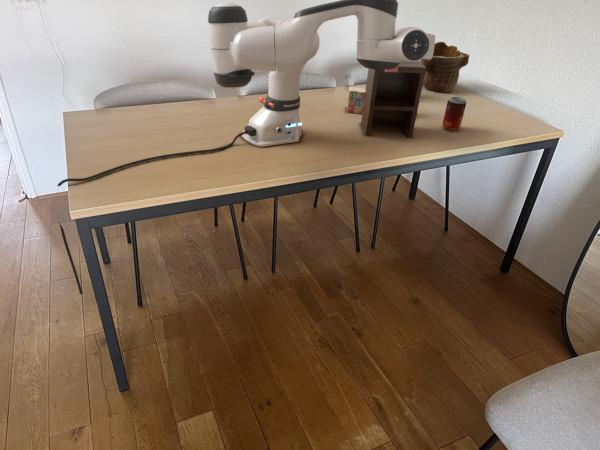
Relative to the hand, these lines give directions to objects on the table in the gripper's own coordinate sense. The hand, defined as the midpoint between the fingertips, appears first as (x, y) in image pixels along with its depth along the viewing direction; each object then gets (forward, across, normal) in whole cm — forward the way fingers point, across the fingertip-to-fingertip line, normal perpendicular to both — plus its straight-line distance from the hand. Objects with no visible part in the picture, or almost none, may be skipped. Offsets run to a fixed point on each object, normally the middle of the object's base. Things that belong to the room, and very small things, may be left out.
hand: (394, 45), depth 136 cm
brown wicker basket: (+89, +39, -19) cm, 99 cm away
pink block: (+21, +1, -6) cm, 22 cm away
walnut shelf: (+30, +6, -31) cm, 43 cm away
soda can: (+36, +33, -30) cm, 57 cm away
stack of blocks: (+50, +2, -27) cm, 56 cm away
